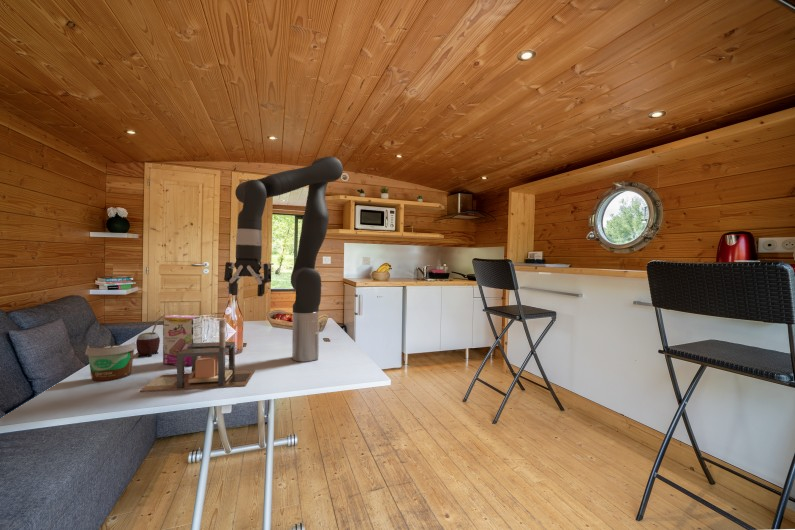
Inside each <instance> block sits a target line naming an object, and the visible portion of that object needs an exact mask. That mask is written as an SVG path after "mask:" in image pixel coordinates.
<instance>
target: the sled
mask: <svg viewBox="0 0 795 530" xmlns="http://www.w3.org/2000/svg"><path fill="white" fill-rule="evenodd" d="M218 323H219V325H218V329H219V330H218V333H219V334H218V335H219V336H218V342H219V348H225V342H226V320H225V319H219V321H218ZM190 373H191V374H189V375H188V383H197V382H216V381H218V374H217V375H216V376H215V377H205V378H195V370H194V371H193V372H192V371H191V372H190ZM232 373H233V370H229V369H225V381H226V380H227V379H228V378H229V377H230V376H231V374H232Z"/></svg>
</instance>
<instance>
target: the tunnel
mask: <svg viewBox="0 0 795 530" xmlns="http://www.w3.org/2000/svg"><path fill="white" fill-rule="evenodd" d="M235 346H236V342H235V341H225V348H219V341H217V342H216V341H214V342H202V343H193V344H191V345H190V346H188V347H187V349H183V350H182V351H180V352H179V353H177V365H176V373H169V374H161V375H159V376H158V377H156V378H155V379H154V380H152V381H150V382H149V383H148V384H146V385H145V386H144V387H142V388H141V389H140V390H139V393H149V392H151V393H152V392H165V391H167V392H168V391H185V390H202V389H217V388H218V389H219V388H220V389H221V388H222V389H223V388H235V387H238V388H239V387H240V388H241V387H246V386H247V385H248V383H249V382H250V380H251V379H252V377H253V375H254V374H255V373H256V370H255V369H253V370H252V369H251V370H236V369H235V368H236V367H235V365H236V363H235V361H236V347H235ZM227 353H228V370H233V373H232V374H231V376H230V377H229V378H228V379H227V380H226V381H225V370H226V354H227ZM198 356H218V381H216V382H197V383H188V375H189V374H191V373H192V372H193V371H194V370H195V361H196V360H197V359H198ZM184 357H192V366H191V372H189V373H187V372H186V373H185V365H184Z"/></svg>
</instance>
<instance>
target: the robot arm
mask: <svg viewBox="0 0 795 530" xmlns="http://www.w3.org/2000/svg"><path fill="white" fill-rule="evenodd" d="M343 170H344V167H343V164H342V162H341V161H340V160H339V159H338V157H335V156H331V155H329V156H324V157H320V158H319V157H318V158H316V159H314V160H313V161H312V163H311V165H307V166H304V167H299V168H294V169H289V170H284V171H280V172H275V173H272V174H269V175H267V176H265V177H262V178H258V179H249V180H246V181H244V182H241V183H239V184H238V185H237V186H236V188H235V192H234V193H235V197H236V199H237V200H238V201H239V202H240V203H242V209H241V210H240V211H239V212H238V216H237V230H236V235H235V237H236V238H235V262H233V261H227V262H225V267H224V276H223V280H224V281H225V282H228V283H229V284H230V286H229V292H230V294H231V296H238V290H239V289H238V285H239V284H238V282H239V280H240V279H242V278H243V277H251V278H252V277H253V279H254V280H256V282H257V283H258V285H257V293H256V295H257V297H263V296H264V295H265V292H266V291H265V289H266V287H265V286H266V284H269V283H271V282H272V264H271V263H268V262H267V263H266V262H265V263H262V256H263V255H262V253H263V252H262V251H263V250H262V247H263V234H262V231H263V230H262V226H263V221H262V218H263V215H264V211H265V207H266V204H267V199H268V198H271V197H278V196H282V195H284V194H288V193H290V192H294V191H296V190H300V189H301V188H304V187H305V188H306V187H308V189H307V198H306V201H305V202H306V203H305V208H304V214H303V218H302V222H301V229H300V236H299V240H298V241H299V242H298V250H297V254H296V259H295V262H294V266H293V269H292V271H291V275H290V284H291V286H292V288H293V289H294V290H295V300H294V303H293V304H292V340H291V341H292V348H291V349H292V360H293V361H295V362H312V361H316V360H319V353H320V352H319V351H320V350H319V349H320V348H319V347H320V346H319V342H320V341H319V337H320V336H319V335H320V334H319V333H320V331H319V323H320V322H319V319H320V318H319V317H320V315H319V314H320V313H319V310H320V309H319V308H320V305H321V300H322V278H321V275H320V273H319V272H318V271H317V270H316V268H315V267H316V261H317V256H318V254H319V251H320V249H321V248H322V245H323V243H324V241H325V238H326V236H327V231H328V227H329V220H330V219H329V217H330V215H329V211H328V207H327V204H326V193H327V186H328V184H329V183H333V182H335V181H338V180H340V179H341V177H342V175H343ZM234 269H236V270H235V272H234ZM261 270H262V271H263V274H262V273H261Z"/></svg>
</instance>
